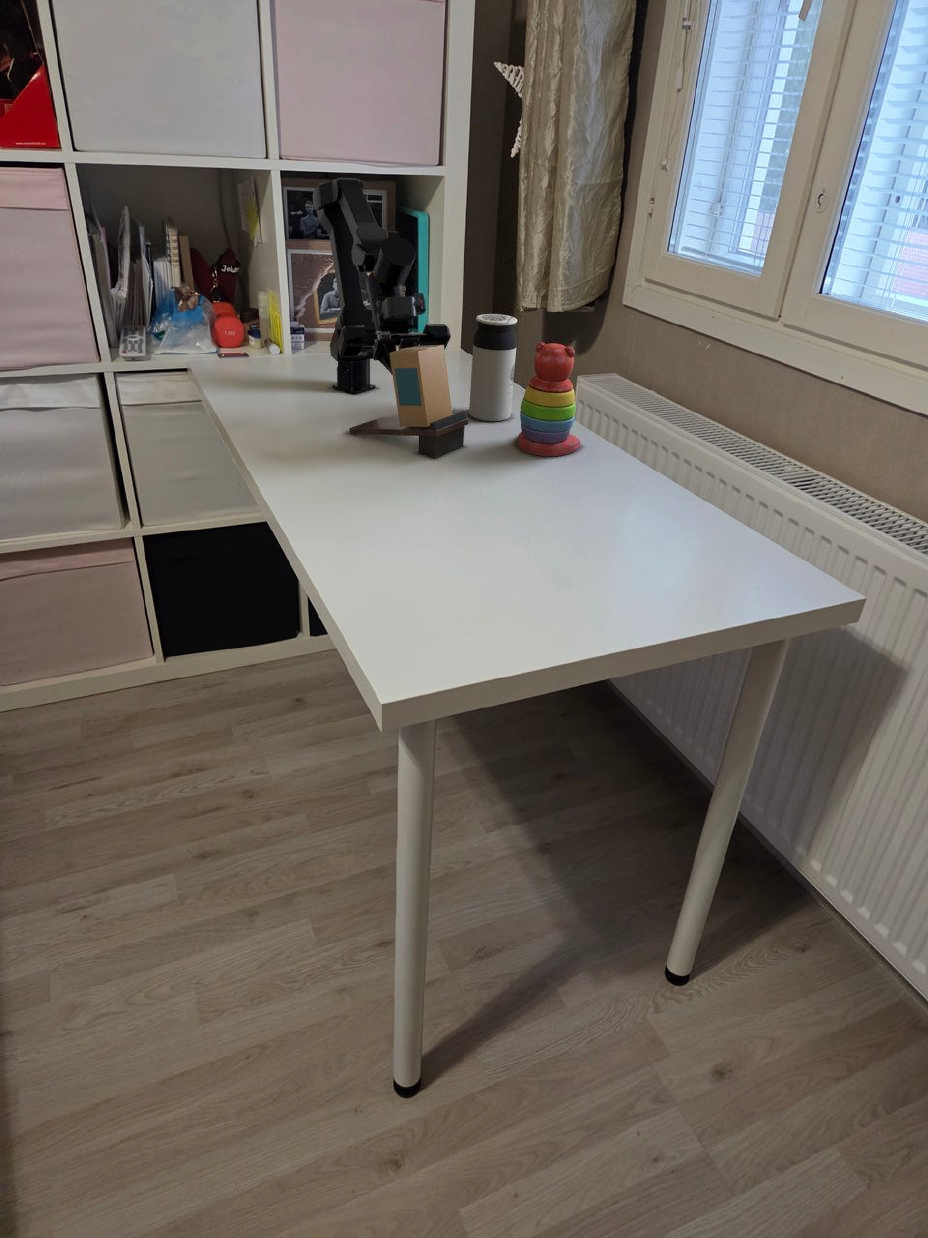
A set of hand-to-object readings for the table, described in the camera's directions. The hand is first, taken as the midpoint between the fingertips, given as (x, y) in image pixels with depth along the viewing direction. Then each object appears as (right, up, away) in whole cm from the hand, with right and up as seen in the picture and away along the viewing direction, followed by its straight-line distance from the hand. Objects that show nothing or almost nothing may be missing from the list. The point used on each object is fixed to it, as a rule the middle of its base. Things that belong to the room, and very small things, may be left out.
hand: (403, 384), depth 143 cm
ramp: (0, -8, +4) cm, 9 cm away
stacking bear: (+24, -10, +5) cm, 27 cm away
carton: (+3, -6, +1) cm, 7 cm away
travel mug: (+15, -1, +19) cm, 24 cm away
